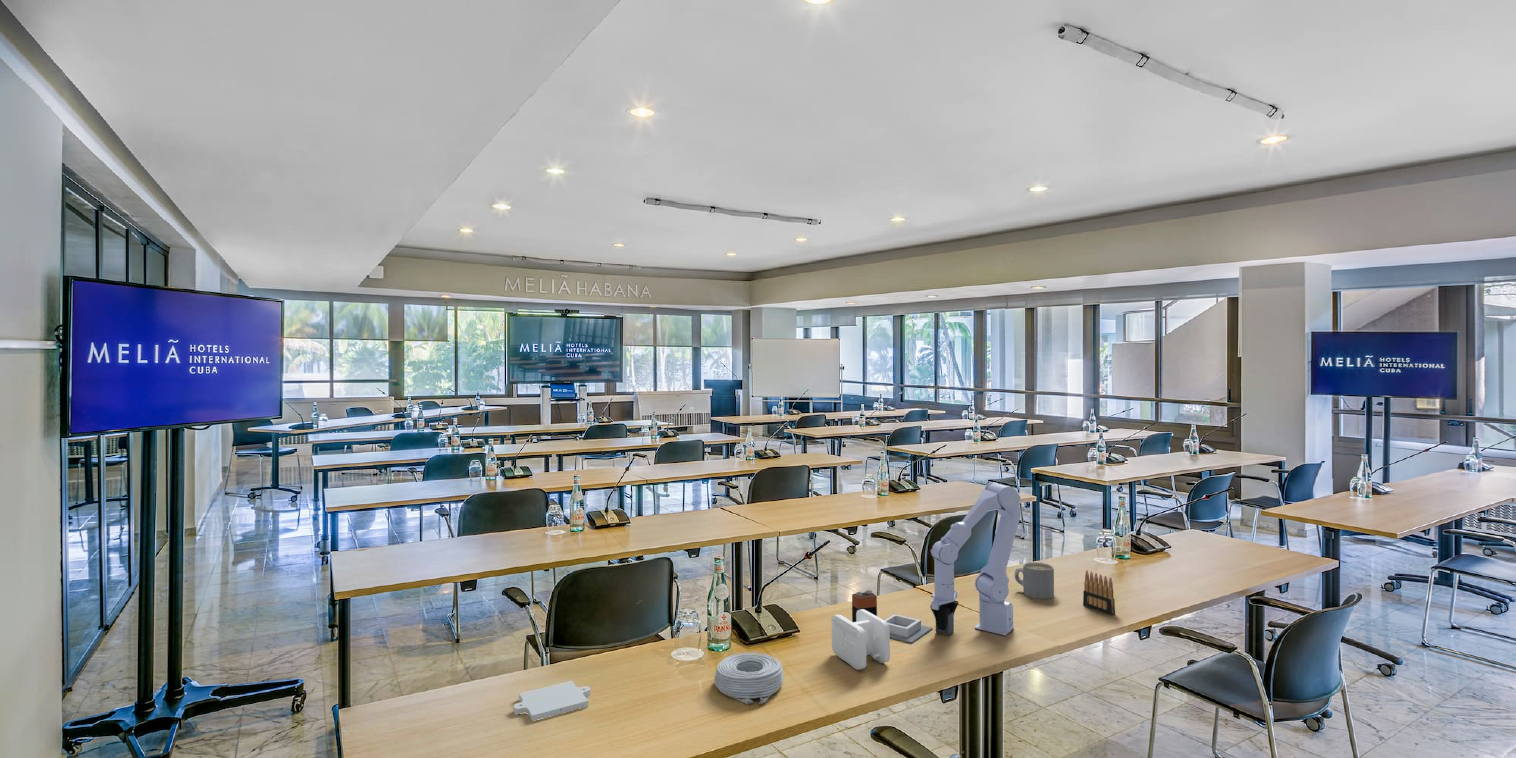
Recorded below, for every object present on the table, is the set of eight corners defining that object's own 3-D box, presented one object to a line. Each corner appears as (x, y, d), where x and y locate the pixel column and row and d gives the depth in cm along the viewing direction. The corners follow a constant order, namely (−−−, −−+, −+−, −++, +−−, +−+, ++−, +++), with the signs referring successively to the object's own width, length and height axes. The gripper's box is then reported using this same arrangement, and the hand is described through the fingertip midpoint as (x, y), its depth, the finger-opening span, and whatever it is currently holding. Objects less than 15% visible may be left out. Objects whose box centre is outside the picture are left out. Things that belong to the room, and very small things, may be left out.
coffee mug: (1059, 595, 239) (1059, 567, 239) (1042, 600, 234) (1042, 571, 234) (1026, 585, 250) (1026, 558, 250) (1009, 590, 245) (1009, 563, 245)
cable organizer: (892, 667, 182) (892, 624, 182) (859, 675, 178) (858, 630, 178) (861, 647, 196) (860, 606, 196) (829, 654, 191) (829, 612, 191)
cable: (759, 710, 160) (759, 684, 160) (699, 692, 169) (699, 668, 169) (795, 681, 175) (795, 658, 175) (738, 666, 184) (738, 644, 184)
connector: (953, 631, 206) (953, 608, 206) (948, 636, 203) (948, 611, 203) (941, 629, 209) (941, 605, 209) (935, 632, 206) (935, 609, 206)
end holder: (932, 629, 209) (932, 619, 209) (911, 643, 198) (911, 633, 198) (891, 619, 217) (890, 610, 217) (869, 632, 206) (869, 622, 206)
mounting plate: (520, 727, 154) (520, 718, 154) (508, 704, 165) (508, 696, 165) (598, 705, 163) (598, 697, 163) (581, 685, 174) (581, 677, 174)
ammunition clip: (1082, 605, 229) (1082, 569, 229) (1086, 604, 230) (1086, 569, 230) (1111, 615, 219) (1111, 578, 219) (1115, 614, 220) (1115, 577, 220)
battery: (877, 624, 213) (877, 592, 213) (858, 627, 211) (857, 595, 211) (870, 619, 217) (870, 588, 217) (851, 622, 215) (851, 590, 215)
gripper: (941, 574, 214) (942, 617, 214) (921, 585, 203) (921, 631, 203) (963, 578, 210) (963, 622, 210) (944, 590, 198) (944, 636, 199)
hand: (944, 627), depth 206 cm, fingers closed on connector, 4 cm apart
